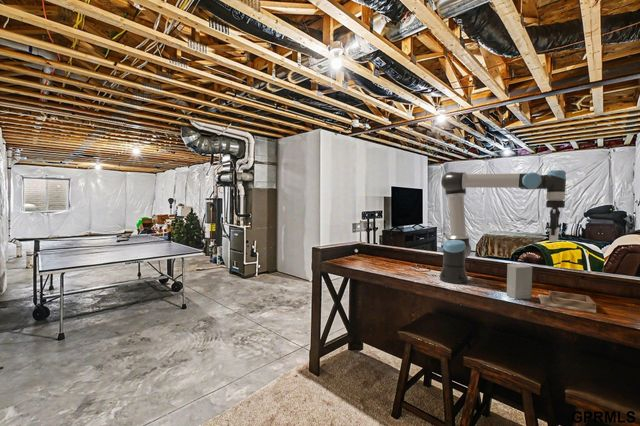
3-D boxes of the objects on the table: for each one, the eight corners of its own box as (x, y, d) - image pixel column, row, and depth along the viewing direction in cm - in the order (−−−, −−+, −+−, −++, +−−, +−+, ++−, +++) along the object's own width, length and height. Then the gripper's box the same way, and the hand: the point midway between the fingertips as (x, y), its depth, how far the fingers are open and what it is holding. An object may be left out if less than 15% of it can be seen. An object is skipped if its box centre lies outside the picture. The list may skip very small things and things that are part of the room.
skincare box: (521, 295, 141) (522, 263, 141) (533, 299, 134) (534, 266, 133) (505, 295, 141) (506, 263, 140) (515, 299, 134) (516, 266, 133)
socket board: (541, 304, 128) (541, 296, 127) (538, 296, 138) (538, 289, 138) (595, 312, 118) (596, 304, 118) (588, 303, 129) (588, 295, 129)
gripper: (563, 199, 137) (561, 243, 138) (566, 200, 155) (564, 239, 156) (543, 199, 142) (542, 241, 143) (548, 200, 161) (547, 238, 161)
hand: (553, 240), depth 150 cm, fingers open, 13 cm apart
